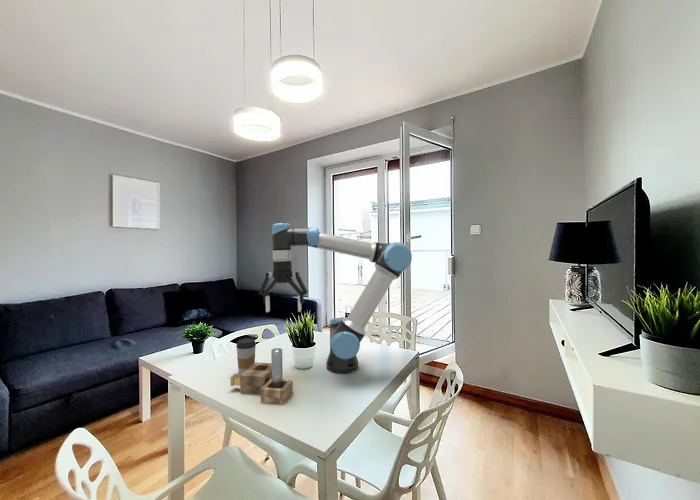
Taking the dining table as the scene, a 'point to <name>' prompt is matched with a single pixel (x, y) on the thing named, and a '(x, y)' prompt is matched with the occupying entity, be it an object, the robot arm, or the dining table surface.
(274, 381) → the grey metal rod
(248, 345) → the coffee cup
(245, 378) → the socket block
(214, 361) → the dining table surface
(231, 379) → the drift key
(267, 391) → the block
